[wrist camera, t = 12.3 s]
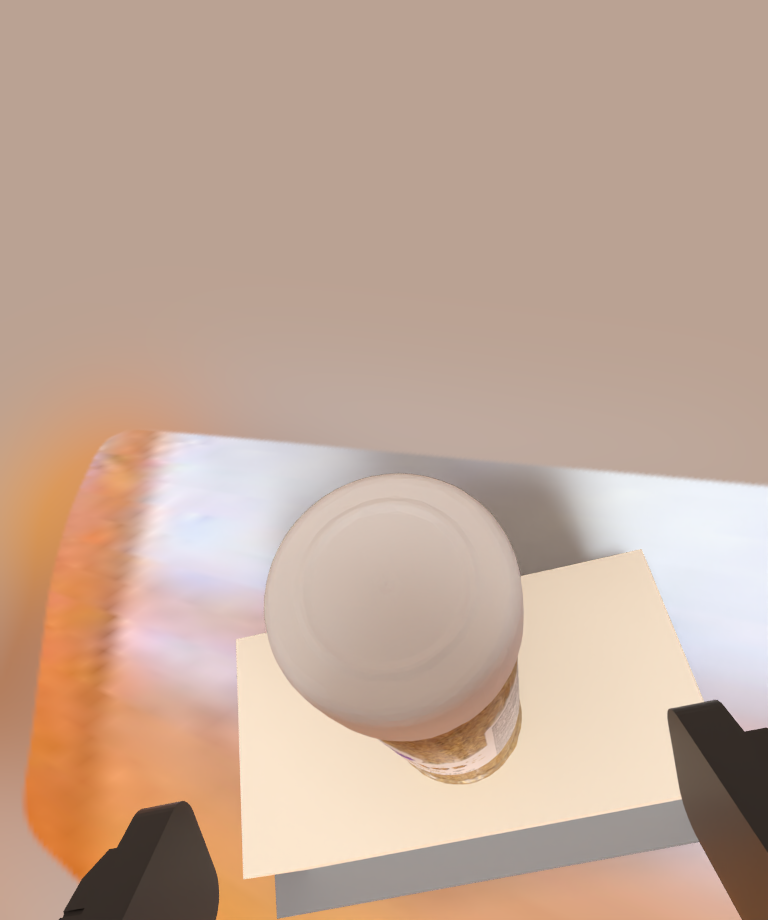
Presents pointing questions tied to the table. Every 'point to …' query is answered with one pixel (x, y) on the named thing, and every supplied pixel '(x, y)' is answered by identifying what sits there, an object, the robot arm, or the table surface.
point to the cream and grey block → (493, 798)
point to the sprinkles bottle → (404, 621)
